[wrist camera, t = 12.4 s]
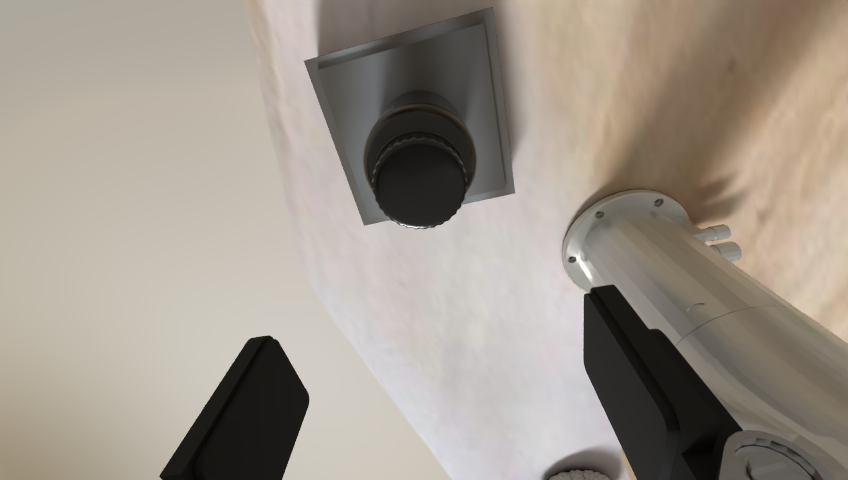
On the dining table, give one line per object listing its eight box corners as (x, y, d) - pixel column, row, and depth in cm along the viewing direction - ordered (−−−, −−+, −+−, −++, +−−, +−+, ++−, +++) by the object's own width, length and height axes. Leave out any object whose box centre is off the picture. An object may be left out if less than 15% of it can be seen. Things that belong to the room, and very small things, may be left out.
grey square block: (485, 11, 26) (493, 6, 23) (507, 179, 33) (516, 194, 30) (317, 59, 28) (302, 60, 25) (370, 209, 35) (363, 227, 31)
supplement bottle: (424, 191, 30) (422, 269, 19) (361, 138, 27) (320, 193, 17) (482, 131, 27) (516, 183, 17) (417, 67, 25) (409, 80, 14)
